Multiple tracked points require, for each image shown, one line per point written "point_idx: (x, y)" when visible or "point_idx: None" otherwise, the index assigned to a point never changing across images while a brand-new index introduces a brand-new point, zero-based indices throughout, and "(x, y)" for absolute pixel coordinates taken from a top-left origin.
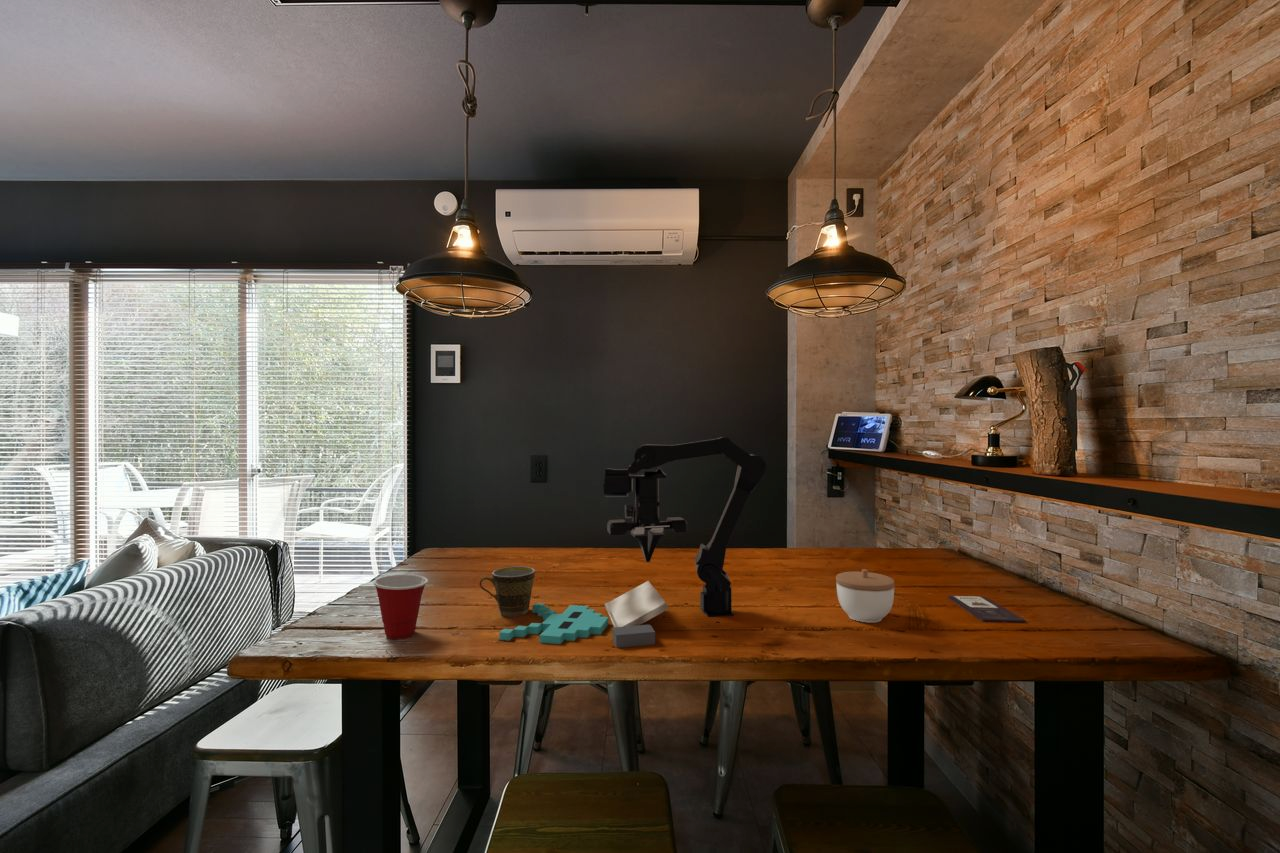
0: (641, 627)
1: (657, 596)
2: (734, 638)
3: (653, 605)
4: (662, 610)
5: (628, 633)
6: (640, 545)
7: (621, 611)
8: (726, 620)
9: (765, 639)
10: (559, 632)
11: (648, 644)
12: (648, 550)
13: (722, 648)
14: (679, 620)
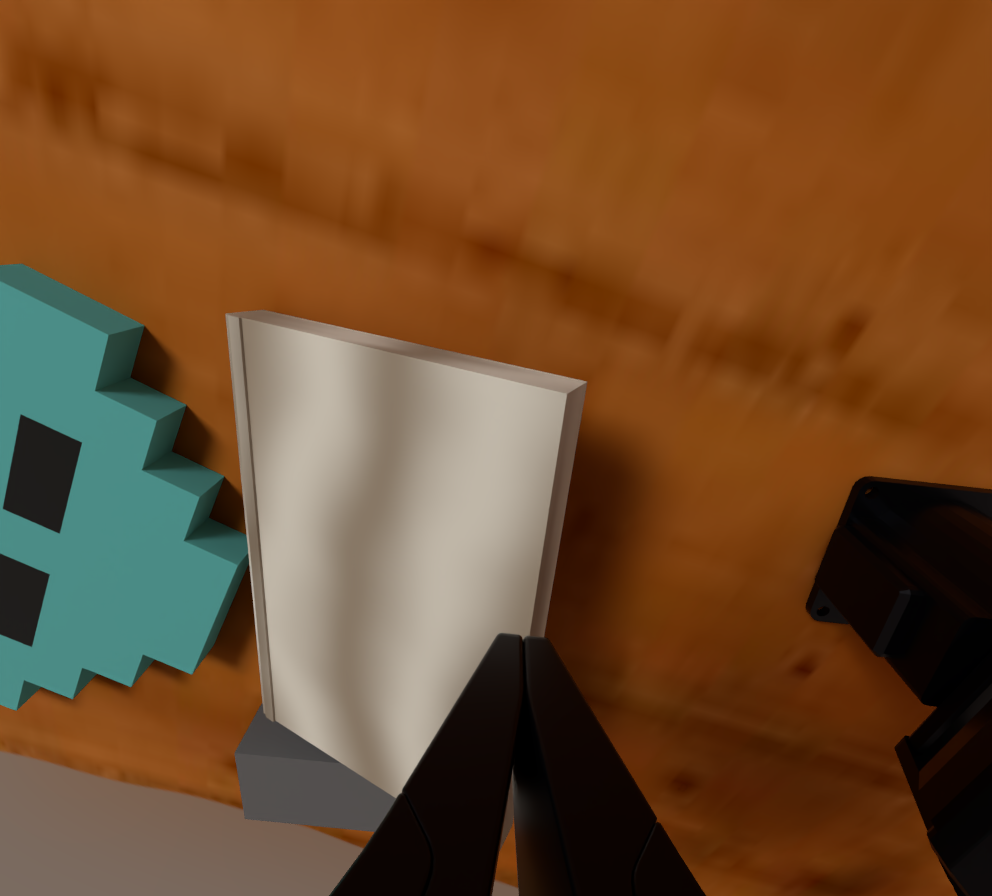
0: (365, 786)
1: None
2: (742, 818)
3: None
4: None
5: (297, 818)
6: (369, 856)
7: (301, 589)
8: (860, 663)
9: (845, 854)
10: (2, 672)
11: None
12: (529, 844)
13: None
14: (636, 594)
